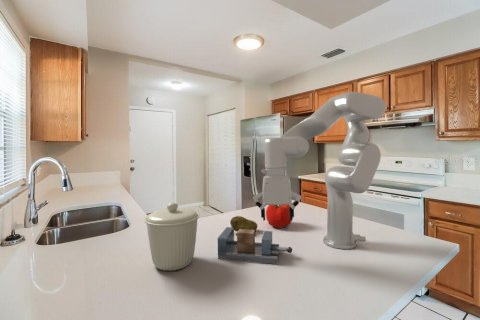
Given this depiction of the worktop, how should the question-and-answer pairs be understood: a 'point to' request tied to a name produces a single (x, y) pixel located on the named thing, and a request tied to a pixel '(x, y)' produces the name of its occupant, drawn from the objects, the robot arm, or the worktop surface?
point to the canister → (172, 236)
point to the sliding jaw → (268, 246)
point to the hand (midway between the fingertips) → (277, 219)
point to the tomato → (278, 215)
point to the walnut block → (245, 240)
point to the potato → (242, 223)
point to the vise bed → (229, 252)
